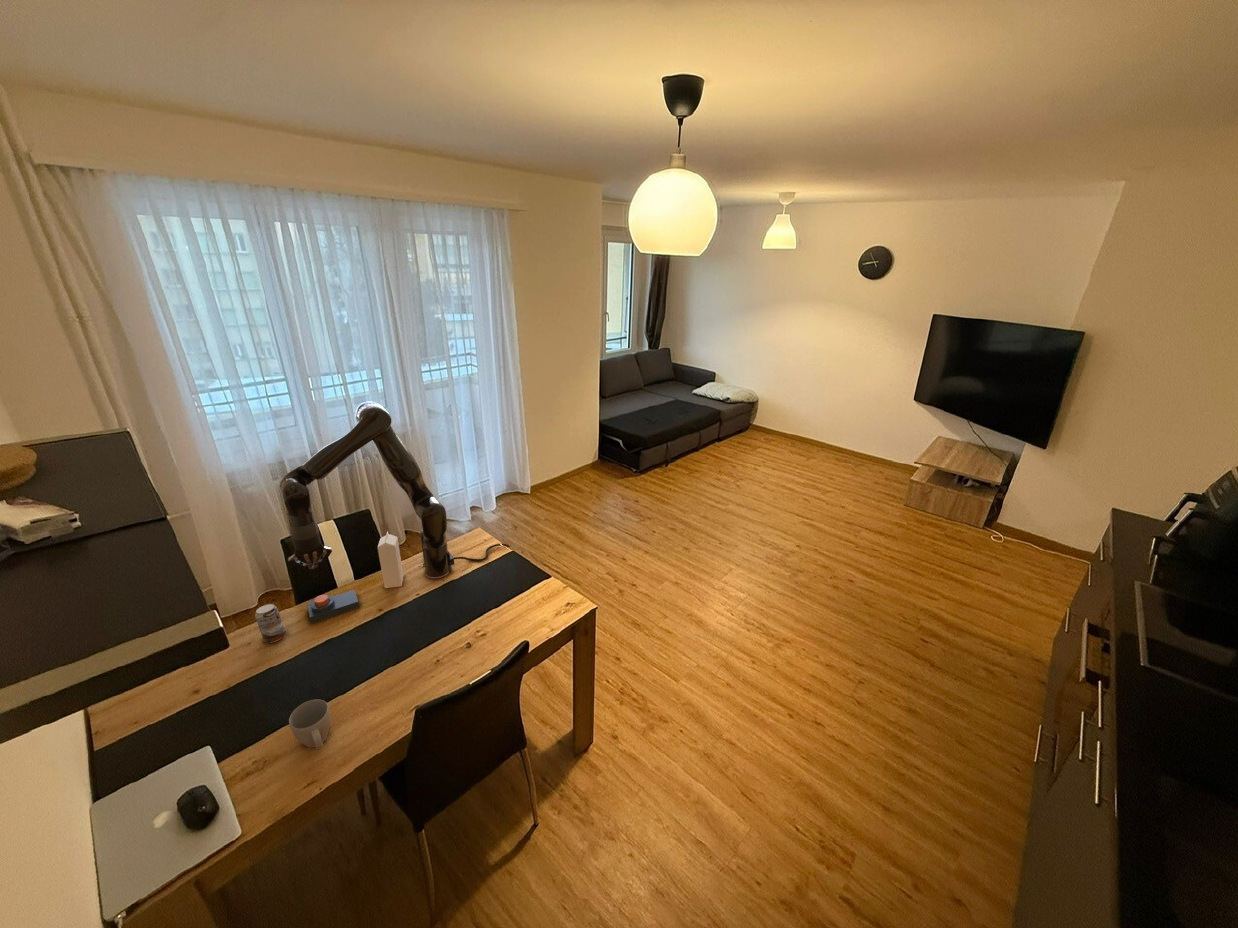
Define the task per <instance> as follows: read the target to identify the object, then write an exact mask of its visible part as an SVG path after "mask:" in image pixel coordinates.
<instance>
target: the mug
mask: <svg viewBox="0 0 1238 928" xmlns="http://www.w3.org/2000/svg"><path fill="white" fill-rule="evenodd" d="M331 719H332V718H331V710H330V707H329V704H328V703H327V701H325V700H323V699H319V698H315V699H314V698H313V699H310V700H307V701H304V702H302V703H301V704H299V705H298V706H297V707H296V708H295V709H293V711H292V712H291V713H290V716H289V718H288V725H289V728H290V731H291V733H292V734H293V736H294V738H295V739H296V740H297V741H298V742H299V743H300V744H302V745H303V746H305V747H307V748H315V750H317V751H319V750H321V749H323V747H324V742H325V741H326V740H327V738H328V735H329V732H330V728H331Z"/></svg>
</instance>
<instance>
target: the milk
mask: <svg viewBox="0 0 1238 928" xmlns="http://www.w3.org/2000/svg"><path fill="white" fill-rule="evenodd" d="M377 552H378V558H379V565H380V570H381V575H382V581H383V587H384V589H388V588H389V589H390V588H391V589H392V588H400V587H402V585H403V582H404V581H403V580H404V570H403V564H402V559H401V551H400V545H399V539H398V536H396V535H393V534H391V533H389V530H387V531H386V534H385V535H383V536H382V537H380V538H379V541H378V545H377Z"/></svg>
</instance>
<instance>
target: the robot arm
mask: <svg viewBox="0 0 1238 928" xmlns="http://www.w3.org/2000/svg"><path fill="white" fill-rule="evenodd" d="M355 420H356V423H357V424H356V425H355V426H354V427H353V428H352V429H351V430H350V431H349V432H347V433H346V434H345V435H343V436H341V437H339V438H338V439H336V440H334V441H333V442H330V443H328V444H327V445H324V446H323V447H322V448H321V449H319V450H318V451H317V452H316V453H314V454H313V455H312V456H311V457H310V458H309V459H308V460H307V461H306V462H304V463H303V464H301V465H298V466H297V467H296V468H293V469H292V470H290V471H289V472H288V473H286V474H285V475H284V476H283V477H282V479H281V480H280V481H279V489H280V493H281V496H282V499H283V502H284V505H285V509H286V516H287V521H288V524H289V532H290V536H291V541H292V545H293V548H294V550H293V554H292V555H291V556H288V557H287V561H288V564H290V565H292V566H294V567H295V568H298V569H300V570H302V571H305V570H307V571H308V572H309V576H310V577H311V578H313V579H315V578H318V577H319V575H321V571H320V568H319V567H320V566H323V565H324V564H325V563H326V562H327V560H328V558H329V557H330V556H331V554H332V552H333V550H332V547H331V546H324V543H322V539H321V535H320V531H319V526H318V523H317V520H316V517H315V512H314V508H313V505H312V500H311V499H312V498H311V492H310V488H309V485H310V484H311V483H313V482H314V481H316V480H318V481H321V480H323V479H325V478H326V477H328V475H329V474H330V473H332V472H333V471H334V470H335V469H336V468H337V467H338V466H339V465H341V464H342V463H343V462H344V461H345V460H347V459H348V458H349V457H351V456H352V455H353V454H355V453H356V452H357V451H359V450H360V449H361V448H363V447H365V446H366V445H367V444H369V443H370V442H373V443H374V445H375V447H376V449H377V451H378V453H379V455H380V457H381V459H382V461H383V463H384V464H385V466H386V468H387V470H388V472H389V473H390V475H391V476H392V478H393V479H394V481H395V482H396V483H397V484H398V486H399V487H400V488H401V489H402V490H403V491H404V492H405V494H406V495H407V497H408V499H409V501H410V503H411V505H412V508H413V509H414V512H415V514H416V515H417V517H418V518H419V519H420V521H421V530H420V542H421V549H422V550H421V551H422V558H423V564H422V567H423V568H424V575H425V577H427V578H428V579H429V580H439V579H443V578H445V577H447V576H449V574H451V573H452V566H454V565H455V560H465V561H470V562H471V561H472V562H482V561H485V560H487V559H488V557H489V550H490V549H492V548H496V547H501V545H500V544H502V545H503V546H502V547H507V548H511V545H509V544H506V543H496V544H492V545H490V546H488V547H487V548H485V549H486V550H485V556H484V557H482V558H473V557H472V558H470V557H466V556H453V555H452V553H451V552H450V551H449V550H448V540H447V539H448V538H447V532H448V531H447V530H448V518H447V511H446V508H445V506H444V505H443V503H442V502H440V500H439V499H438V498H437V497H436V496H435V495H434V494H433V492H431V490H430V489H429V487H428V486H427V485H426V483H425V480H424V477H423V473H422V469H421V467H420V465H419V463H418V462H417V461H416V458H415V457H414V455H413V454H412V453H411V451H410V450H409V448H408V447H407V446H406V445H405V444H404V442H403V441H402V440H401V439H400V438H399V436H398V435H397V434H396V432H395V430H394V429H393V427H392V416H391V415H390V413H389V412H388V410H386V409H385V408H384V406H382V405H381V404H380V403H378V402H374V401H363V402H361V403H360V404H359V405H358V406H357V408H356V411H355Z"/></svg>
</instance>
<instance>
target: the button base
mask: <svg viewBox="0 0 1238 928" xmlns="http://www.w3.org/2000/svg"><path fill="white" fill-rule="evenodd" d="M327 596H328V599H329V603H328V604H326V605H325V606H322V607H317V606H316V604H315V599H313V600H312V601H311V602H310V603H308V604H306V608H307V611H308V616H309V620H310V623H311V624H314V623H317V622H320V621H323V620H326V619H327V618H328V619H329V618H331V617H335V616H337V615H341V614H344V613H347V612H349V611H351V610H356V609H358V608H360V602H359V599H358V596H357V593H356V591H355V589H352V590H348V591H346V592H342V593H339V594H336V595H333V596H331V595H327Z"/></svg>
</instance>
